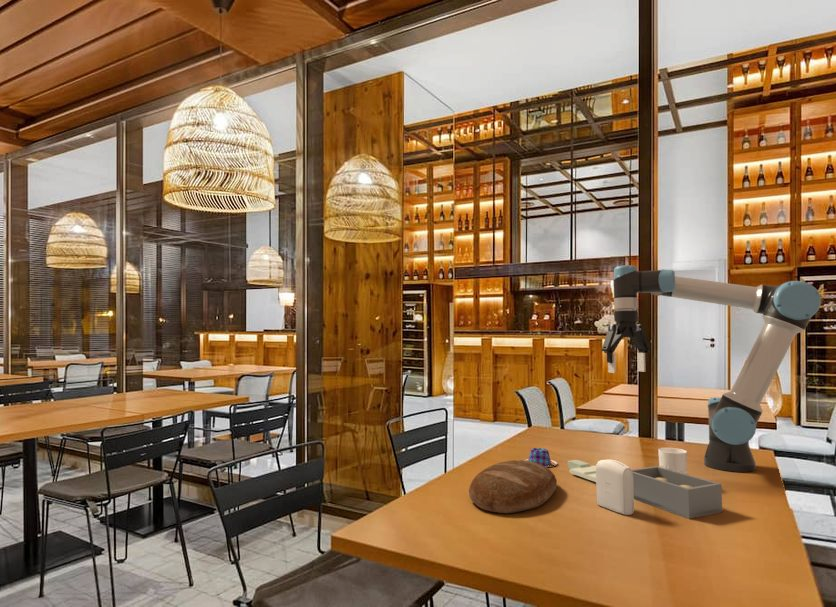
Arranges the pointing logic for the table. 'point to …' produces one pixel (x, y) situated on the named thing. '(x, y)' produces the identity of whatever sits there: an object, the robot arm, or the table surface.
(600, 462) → the photo printer
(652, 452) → the table surface
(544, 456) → the patterned hat
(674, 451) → the white cup
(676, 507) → the tub
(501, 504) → the bread
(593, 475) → the lid
